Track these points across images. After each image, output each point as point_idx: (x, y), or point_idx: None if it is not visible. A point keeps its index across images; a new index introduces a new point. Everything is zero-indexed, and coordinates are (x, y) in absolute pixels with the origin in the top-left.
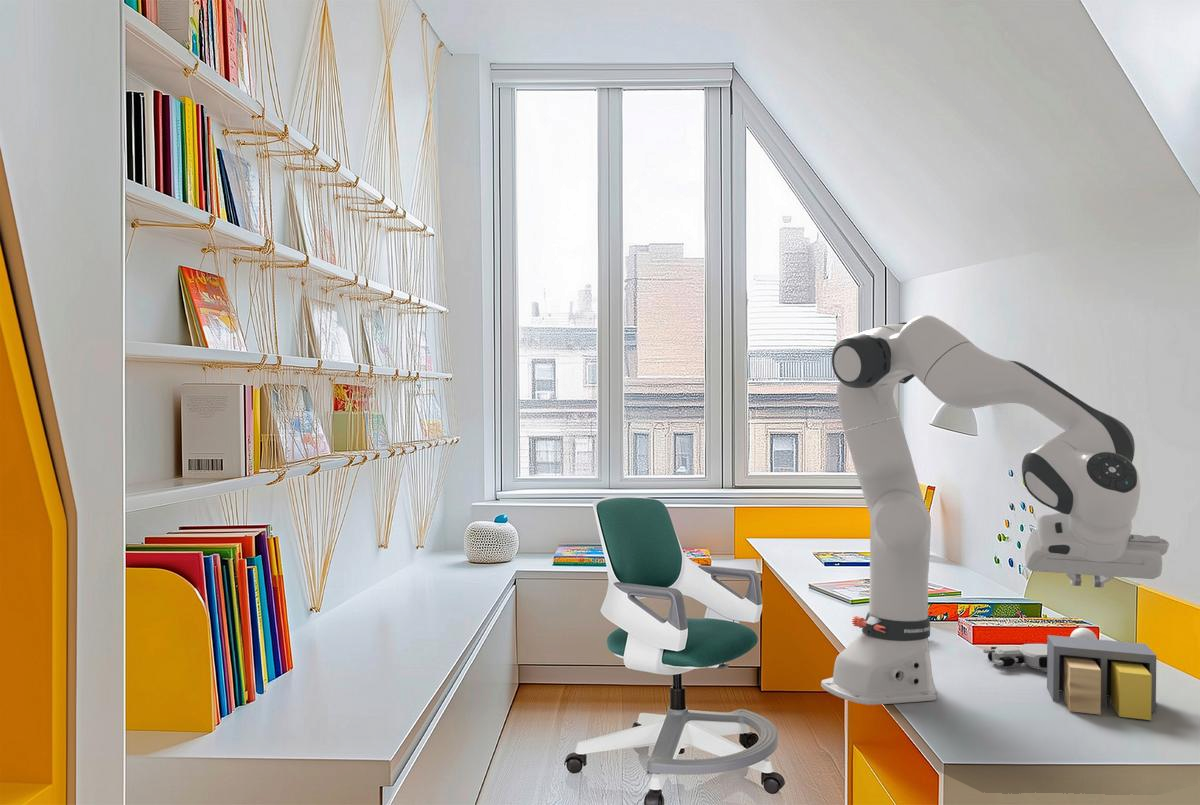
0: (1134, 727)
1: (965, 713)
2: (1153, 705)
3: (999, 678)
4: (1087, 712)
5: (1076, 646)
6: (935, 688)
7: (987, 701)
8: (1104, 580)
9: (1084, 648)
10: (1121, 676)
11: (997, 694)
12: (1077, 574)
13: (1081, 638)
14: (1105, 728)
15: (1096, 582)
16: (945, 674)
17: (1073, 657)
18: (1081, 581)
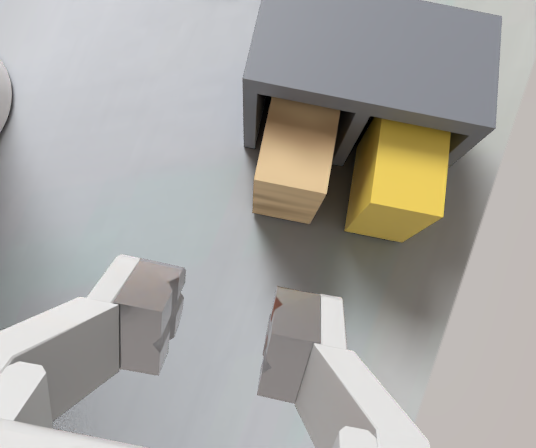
0: (354, 284)
1: (17, 258)
2: None
3: (185, 15)
4: (285, 218)
5: (306, 73)
6: (4, 117)
7: (100, 168)
8: (317, 444)
9: (321, 89)
10: (371, 207)
11: (141, 118)
12: (134, 325)
13: None
14: None
15: (267, 392)
16: (76, 5)
17: None
18: (158, 374)
